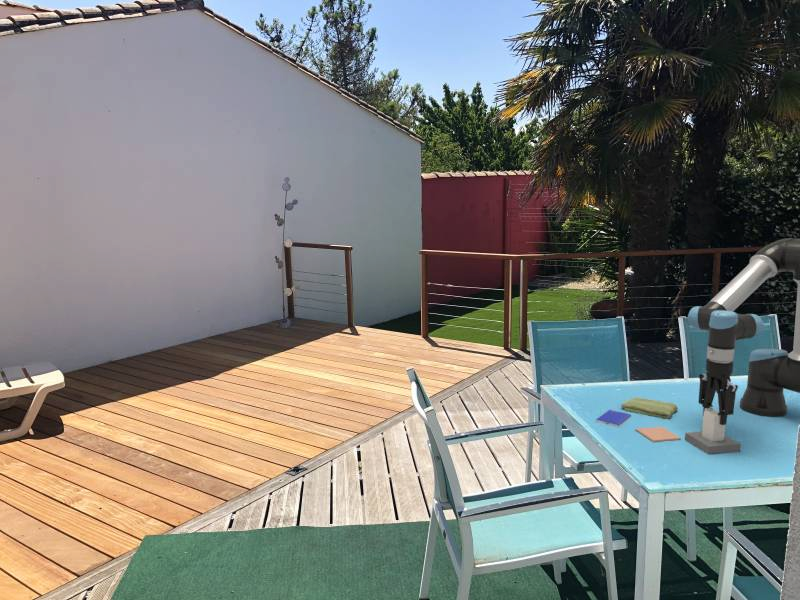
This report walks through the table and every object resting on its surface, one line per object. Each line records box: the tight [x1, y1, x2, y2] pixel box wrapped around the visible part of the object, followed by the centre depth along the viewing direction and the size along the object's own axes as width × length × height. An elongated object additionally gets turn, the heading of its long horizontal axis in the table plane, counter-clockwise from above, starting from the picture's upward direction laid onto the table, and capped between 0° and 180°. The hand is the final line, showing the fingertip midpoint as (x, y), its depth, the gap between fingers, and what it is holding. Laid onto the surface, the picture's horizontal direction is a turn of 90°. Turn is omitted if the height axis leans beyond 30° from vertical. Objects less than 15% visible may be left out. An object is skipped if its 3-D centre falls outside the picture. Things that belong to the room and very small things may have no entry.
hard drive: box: [595, 409, 632, 428], centre depth 215 cm, size 2×8×12 cm
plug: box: [701, 409, 726, 442], centre depth 191 cm, size 4×4×10 cm
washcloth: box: [620, 397, 679, 420], centre depth 224 cm, size 13×18×3 cm
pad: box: [635, 426, 681, 443], centre depth 200 cm, size 10×10×1 cm
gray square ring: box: [684, 430, 742, 455], centre depth 192 cm, size 11×11×2 cm
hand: (713, 430), depth 191 cm, fingers closed on plug, 4 cm apart
